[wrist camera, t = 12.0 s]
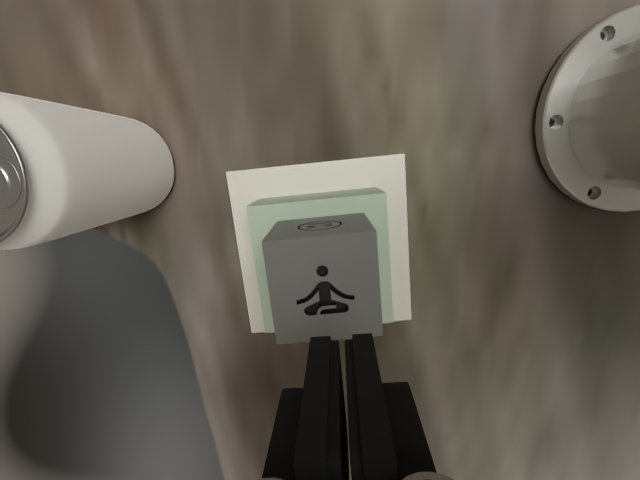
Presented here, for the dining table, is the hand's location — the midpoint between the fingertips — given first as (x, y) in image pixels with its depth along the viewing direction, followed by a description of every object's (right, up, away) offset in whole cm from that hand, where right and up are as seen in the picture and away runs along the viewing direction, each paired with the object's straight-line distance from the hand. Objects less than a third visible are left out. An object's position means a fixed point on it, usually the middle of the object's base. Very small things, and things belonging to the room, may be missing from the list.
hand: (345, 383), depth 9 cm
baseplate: (0, +3, +16) cm, 16 cm away
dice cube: (0, +3, +11) cm, 12 cm away
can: (-14, +9, +15) cm, 22 cm away
